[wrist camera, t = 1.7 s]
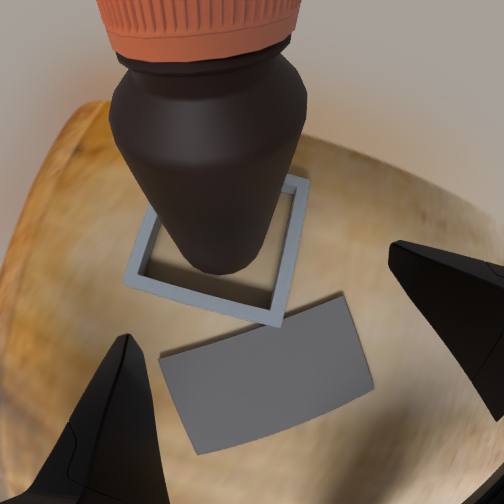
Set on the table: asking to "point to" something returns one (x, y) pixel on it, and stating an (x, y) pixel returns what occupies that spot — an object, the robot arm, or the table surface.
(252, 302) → the table surface
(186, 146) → the vinegar
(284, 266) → the bottle holder
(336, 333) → the mat
